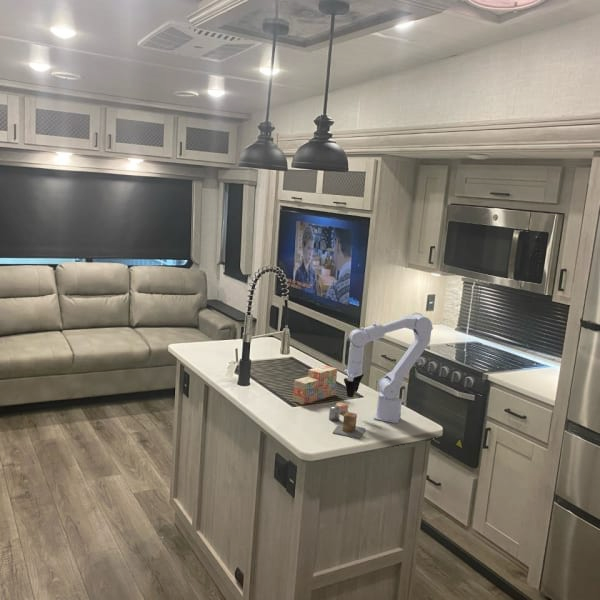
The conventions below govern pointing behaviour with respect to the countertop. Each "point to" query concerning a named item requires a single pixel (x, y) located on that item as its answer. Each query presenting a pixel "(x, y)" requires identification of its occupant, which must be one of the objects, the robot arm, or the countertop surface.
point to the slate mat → (355, 434)
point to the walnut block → (349, 422)
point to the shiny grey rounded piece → (334, 413)
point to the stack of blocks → (315, 385)
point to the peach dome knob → (342, 407)
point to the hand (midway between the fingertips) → (352, 394)
